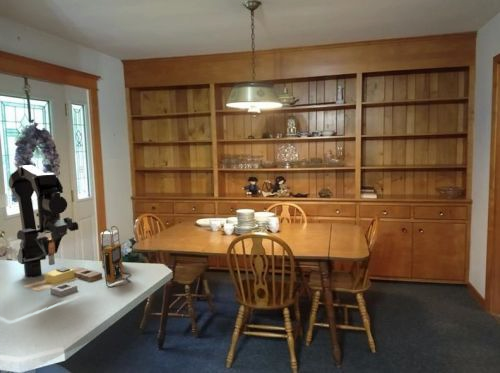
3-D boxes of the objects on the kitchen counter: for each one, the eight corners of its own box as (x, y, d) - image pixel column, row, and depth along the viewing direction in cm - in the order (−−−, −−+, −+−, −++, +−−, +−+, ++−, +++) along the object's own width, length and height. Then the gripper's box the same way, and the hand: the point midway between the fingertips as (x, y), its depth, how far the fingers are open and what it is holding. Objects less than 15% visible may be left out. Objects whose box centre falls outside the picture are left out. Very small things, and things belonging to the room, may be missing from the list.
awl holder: (51, 295, 131) (50, 287, 131) (67, 289, 136) (67, 282, 136) (60, 298, 128) (60, 291, 128) (77, 292, 133) (77, 285, 133)
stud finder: (45, 281, 143) (44, 272, 142) (65, 274, 149) (64, 266, 149) (54, 284, 139) (53, 274, 139) (74, 277, 146) (74, 268, 146)
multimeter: (126, 288, 136) (122, 232, 134) (100, 287, 138) (96, 231, 136) (145, 274, 150) (142, 223, 148) (121, 273, 152) (118, 223, 150)
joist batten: (66, 276, 150) (66, 270, 149) (78, 272, 154) (78, 266, 154) (90, 283, 141) (89, 277, 141) (102, 279, 145) (101, 272, 145)
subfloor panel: (23, 288, 138) (23, 286, 138) (63, 275, 151) (63, 273, 151) (38, 293, 133) (38, 291, 133) (78, 280, 145) (78, 278, 145)
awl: (45, 264, 135) (43, 239, 134) (53, 262, 137) (51, 237, 136) (50, 266, 133) (48, 240, 132) (58, 263, 136) (56, 238, 134)
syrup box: (121, 263, 165) (119, 230, 163) (115, 268, 159) (113, 233, 157) (108, 263, 165) (106, 230, 163) (102, 267, 159) (99, 233, 158)
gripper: (32, 217, 121) (36, 265, 123) (86, 207, 136) (89, 251, 138) (14, 213, 127) (18, 260, 129) (68, 205, 142) (71, 246, 144)
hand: (51, 254), depth 135 cm, fingers closed on awl, 3 cm apart
